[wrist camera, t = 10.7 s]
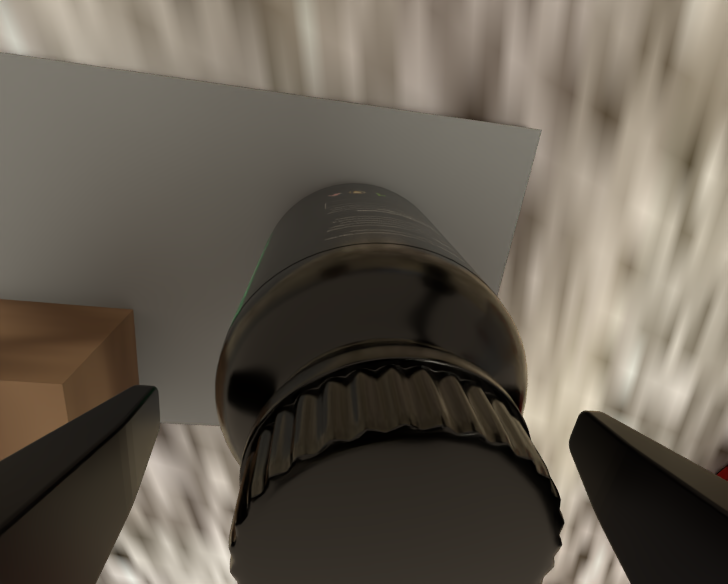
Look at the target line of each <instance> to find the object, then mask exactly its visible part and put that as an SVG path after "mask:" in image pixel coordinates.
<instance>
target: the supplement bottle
mask: <svg viewBox="0 0 728 584" xmlns="http://www.w3.org/2000/svg"><path fill="white" fill-rule="evenodd" d="M527 384H528V383H527V363H526V355H525V351H524V347H523V343H522V340H521V337H520V335H519V332H518V329H517V327H516V325H515V323H514V321H513V319H512V317H511V316H510V314H509V313H508V311H507V310H506V308H505V307H504V305H503V304H502V302H501V301H500V300H499V298H498V297H497V295H496V294H495V293H494V292H493V291H492V290H491V288H490V287H489V286H488V285H487V284H486V283H485V282H484V280H483V279H482V278H481V277H480V276H479V275H478V274H477V273H476V272H475V270H474V269H473V268H472V267H471V266H470V265H469V264H468V263H467V262H466V260H465V259H464V258H463V257H462V256H461V255H460V254H459V253H458V251H457V250H456V249H455V248H454V247H453V246H452V245H451V244H450V243H449V241H448V240H447V239H446V238H445V237H444V236H443V235H442V234H441V233H440V231H439V230H438V229H437V228H436V227H435V226H434V225H433V224H432V223H431V221H430V220H429V219H428V218H427V217H426V216H425V215H424V214H423V213H422V212H421V211H420V210H419V209H418V208H417V207H416V206H415V205H413V204H412V203H411V202H409V201H408V200H407V199H405V198H404V197H402V196H400V195H399V194H397V193H395V192H392V191H390V190H388V189H385V188H382V187H379V186H375V185H370V184H362V183H347V184H339V185H333V186H330V187H326V188H323V189H321V190H318V191H315V192H314V193H312V194H310V195H308V196H306V197H305V198H303V199H301V200H300V201H299V202H297V203H296V204H295V205H294V206H292V207H291V208H290V209H289V210H288V211H287V212H286V213H285V214H284V216H283V217H282V218H281V219H280V221H279V222H278V223H277V225H276V227H275V228H274V230H273V232H272V234H271V236H270V237H269V239H268V241H267V243H266V246H265V248H264V250H263V252H262V255H261V257H260V259H259V261H258V264H257V266H256V268H255V271H254V273H253V275H252V277H251V280H250V282H249V284H248V287H247V289H246V291H245V293H244V296H243V298H242V300H241V302H240V305H239V307H238V309H237V312H236V314H235V316H234V318H233V321H232V323H231V325H230V328H229V330H228V333H227V335H226V338H225V341H224V343H223V347H222V350H221V353H220V357H219V361H218V365H217V369H216V377H215V403H216V411H217V416H218V420H219V424H220V427H221V430H222V433H223V436H224V438H225V441H226V443H227V445H228V447H229V449H230V451H231V453H232V455H233V456H234V458H235V459H236V461H237V462H238V464H239V465H240V467H241V468H240V490H239V494H238V498H237V503H236V507H235V512H234V516H233V521H232V525H231V530H230V535H229V550H230V553H231V558H230V573H231V574H232V575H233V577H234V578H235V579H236V581H237V582H238V583H237V584H542V582H543V578H544V576H545V575H546V574H547V573H548V572H549V571H550V570H551V569H552V568H553V567H554V556H555V555H556V553H557V552H558V551H559V549H560V547H561V546H562V542H561V538H560V532H561V530H562V528H563V525H564V519H563V516H562V513H561V511H560V502H561V499H560V496H559V492H558V490H557V488H556V486H555V484H554V482H553V481H552V479H551V477H550V475H549V472H548V469H547V467H546V465H545V463H544V461H543V459H542V458H541V456H540V455H539V453H538V451H537V450H536V448H535V446H534V445H533V443H532V441H531V438H530V434H529V431H528V428H527V425H526V423H525V420H524V418H523V411H524V407H525V402H526V395H527Z"/></svg>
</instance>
